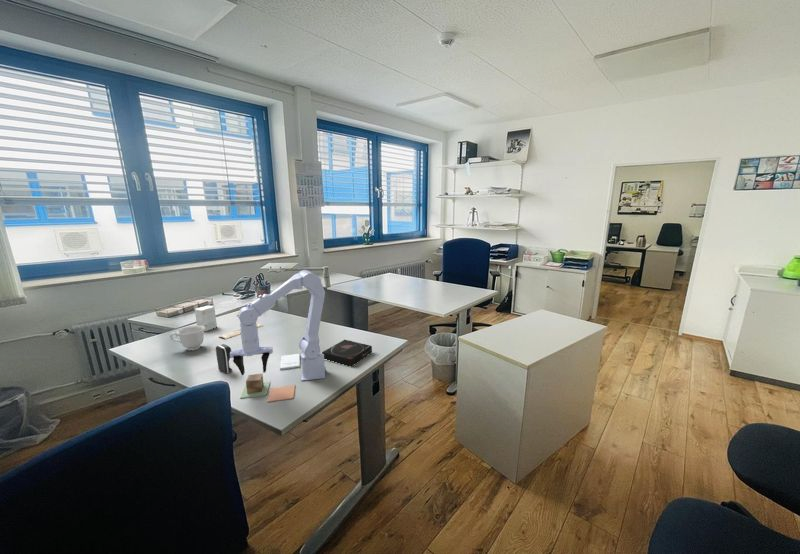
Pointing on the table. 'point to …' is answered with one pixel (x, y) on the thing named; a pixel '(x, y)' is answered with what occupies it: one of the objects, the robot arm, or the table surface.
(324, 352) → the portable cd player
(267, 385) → the mat
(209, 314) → the small box
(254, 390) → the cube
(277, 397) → the mat
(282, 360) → the external hard drive
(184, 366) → the table surface
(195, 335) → the teacup
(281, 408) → the table surface
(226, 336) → the wooden plank
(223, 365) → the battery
